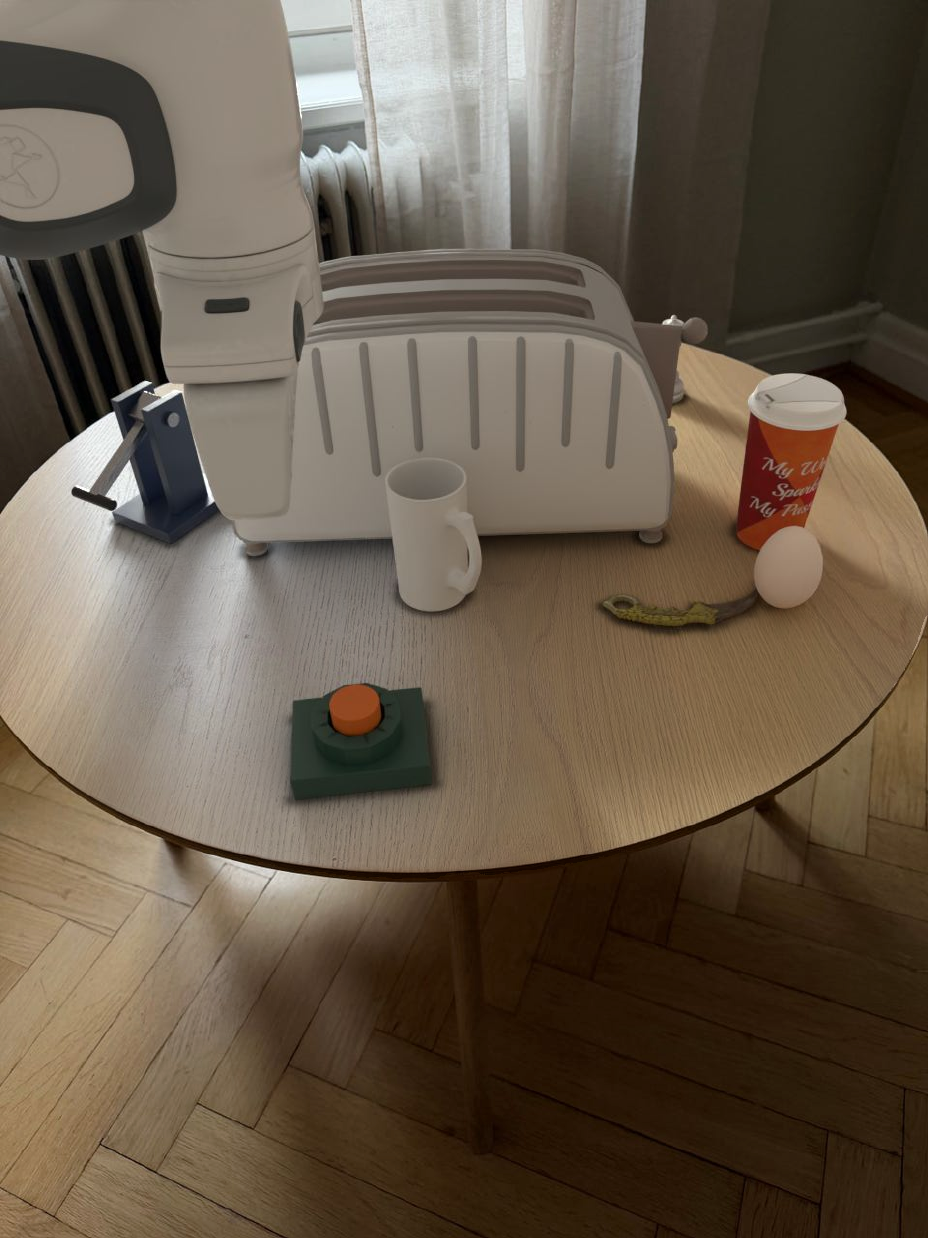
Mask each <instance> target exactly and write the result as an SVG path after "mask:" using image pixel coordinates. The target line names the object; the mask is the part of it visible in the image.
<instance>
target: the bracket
mask: <svg viewBox="0 0 928 1238" xmlns="http://www.w3.org/2000/svg"><path fill="white" fill-rule="evenodd" d="M143 392H147V393H151V394H154V395H156V392H155V388H154V385H153V382H149V381H146V380H144V381H142V382H140V383H139V384H137V385H135V386H134V387H131V388H129V389H127V390H126V391H124V392H122V393H121V394H119V395H117V396H115V397H113V398H111V399H110V402H111V406H112V408H113V412H114V415H115V418H116V421H117V424H118V427H119V431H120V434H121V437H122V441H123V440H124V439H125V437H126V436H127V434H128V433H129V431H130V430H131V428H132V427H133V425H134V424H135V421H134V420H133V419H132V418H131V417H130V416H129V413H130V411H131V410H132V408H133V407H134V405H135V404H136V403H137V401H138V400H139V398H140V397H141V395H142V394H143ZM141 412H142V415H143V419H144V422H145V425H146V429H147V432H148V433H147V434H146V436H145V437H144V439H143V440H142V442H141V443H140V445H139V446H138V448H137V449H136V451H135V452H134V454H133V455H132V457H131V458H130V460H129V463H130V465H131V470H132V473H133V475H134V479H135V482H136V485H137V488H138V492H139V494H137V495H136V496H134V497H133V498H131V499H129V500H128V501H127V502H125V503H123V504H122V505H120V506H119V507H117V508H116V509H115V510H114V511H111V513H112V516H113V520H114V522H115V523H117V524H119V525H123V526H125V527H128V528H130V529H133V530H135V531H138V532H140V533H143V534H145V535H147V536H149V537H153V538H155V539H158V540H160V541H163V542H166V543H168V544H171V545H172V544H174V543H175V542H176V541H177V540H179V539H180V538H182V537H183V536H185V535H187V533H188V532H190V531H192V530H193V529H194V528H196V527H197V526H198V525H200V524H201V523H203V522H204V521H205V520H207V519H208V518H210V517H211V516H212V515H214V514H215V513H217V512H218V511H220V510H219V508H218V507H217V505H216V503H215V501H214V498H213V496H212V493H211V490H210V487H209V484H208V481H207V478H206V475H205V473H203V469H202V466H201V465H202V464H201V460H200V457H199V453H198V449H197V446H196V442H195V439H194V436H193V432H192V429H191V425H190V422H189V418H188V414H187V409H186V404H185V398H184V394H183V391H179V390H176V389H174V390H172V391H170V392H169V393H167V394H165V395H164V396H162V397H161V398H160V399H158V400H157V401H155V402H153V403H151V404H150V405H148V406H146V407H144V408H143V409H141Z"/></svg>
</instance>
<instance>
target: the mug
mask: <svg viewBox="0 0 928 1238" xmlns="http://www.w3.org/2000/svg"><path fill="white" fill-rule="evenodd" d="M385 484H386V490H387V500H388V508H389V516H390V524H391V531H392V539H391V540H392V545H393V552H394V561H395V570H396V577H397V584H398V592H399V596H400V598H401V600H402V601H403V602H404V603H405V604H406V605H407V606H409V607H410V608H413V609H415V610H418V611H422V612H428V613H429V612H441V611H446V610H449V609H452V608H453V607H455V606H457V605H458V604H460V603H461V602H462V601H463V600H464V598H465V597H466V595H468V594H470V593H471V592H474V590H475V589H476V586H477V584H478V581H479V578H480V575H481V571H482V563H483V562H482V561H483V559H482V549H481V545H480V544H481V543H480V541H479V536H477V533H476V529H475V526H474V522H473V516H472V515H470V514H468V513H467V487H466V473H465V471H464V470H463V469H462V468H461V467H460V466H459V465H458V464H456V463H454V462H452V461H449V460H446V459H442V458H434V457H423V458H415V459H411V460H407V461H404V462H402V463H400V464H398V465H396V466H395V467H393V468H392V469H391V470H390V471H389V472H388V474H387V476H386V479H385ZM468 556H469V558H468ZM468 559H469V561H468Z"/></svg>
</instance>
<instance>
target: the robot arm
mask: <svg viewBox="0 0 928 1238" xmlns="http://www.w3.org/2000/svg"><path fill="white" fill-rule="evenodd" d="M288 30H289V29H288V25H287V22H286V17H285V11H284V9H283V5H282V1H281V0H0V256H3V257H6V258H11V259H16V260H26V261H37V260H38V261H39V260H48V259H56V258H59V257H63V256H67V255H72V254H76V253H79V252H82V251H86V250H89V249H90V250H91V249H93V248H96V247H99V246H103V245H106V244H110V243H113V242H116V241H119V240H122V239H125V238H128V237H131V236H133V235H136V234H137V233H140V232H142V234H143V239H144V243H145V247H146V252H147V256H148V260H149V264H150V268H151V272H152V276H153V287H154V290H155V294H156V299H157V303H158V307H159V312H160V334H159V335H160V336H159V337H160V339H159V340H160V354H161V359H162V363H163V369H164V371H165V375H166V378H167V380H168V382H169V383H170V384H173V385H180V384H181V385H183V399H184V403H185V406H186V410H187V414H188V418H189V422H190V426H191V430H192V434H193V438H194V442H195V446H196V450H197V453H198V457H199V460H200V463H201V465H202V468H203V472H204V474H205V475H206V478H207V481H208V484H209V487H210V490H211V493H212V496H213V498H214V501H215V503H216V505H217V507H218V508H219V510H218V511H220V512H221V514H222V515H223V516H224V517H225V518H226V519H228V520H230V521H231V520H248V519H262V518H273V517H280V516H283V515H285V514H286V513H287V512H288V510H289V506H290V489H291V468H292V452H293V436H294V420H295V404H296V388H297V372H298V365H299V361H300V359H301V353H302V349H303V345H304V342H305V340H306V338H307V336H308V334H309V332H310V330H311V328H312V326H313V323H314V322H316V321H317V320H318V318H319V317H320V316H321V314H322V312H323V308H324V302H323V294H322V286H321V277H320V269H319V264H320V262H319V255H318V246H317V237H316V227H315V221H314V215H313V211H312V208H311V205H310V202H309V200H308V198H307V195H306V193H305V190H304V186H303V181H302V176H301V175H302V174H301V155H302V148H303V141H304V129H303V120H302V112H301V104H300V97H299V90H298V83H297V74H296V70H295V69H296V68H295V63H294V58H293V57H294V56H293V52H292V51H293V50H292V47H291V41H290V35H289V31H288Z"/></svg>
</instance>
